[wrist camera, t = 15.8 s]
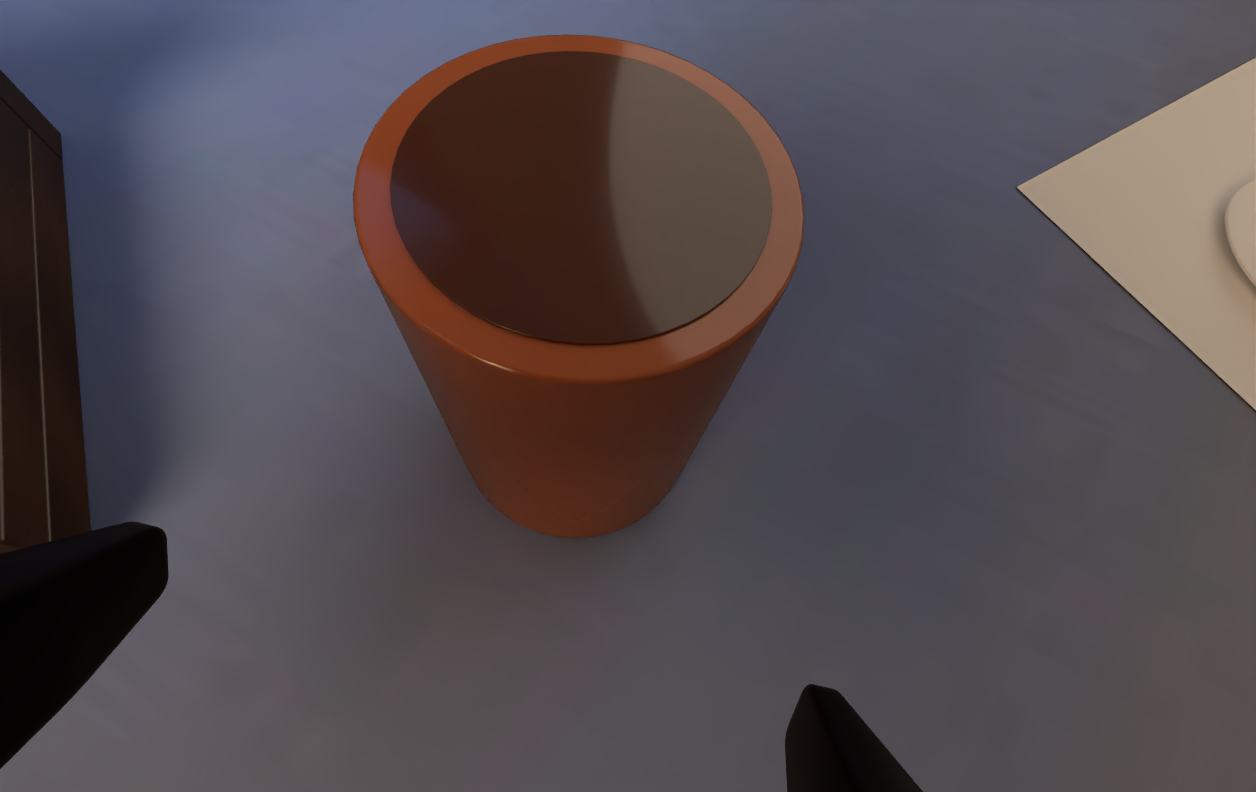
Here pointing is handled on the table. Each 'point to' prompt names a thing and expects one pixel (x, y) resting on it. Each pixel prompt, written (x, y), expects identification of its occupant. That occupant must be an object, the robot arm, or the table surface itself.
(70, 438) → the dark brown wooden piece
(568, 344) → the cup
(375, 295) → the table surface
